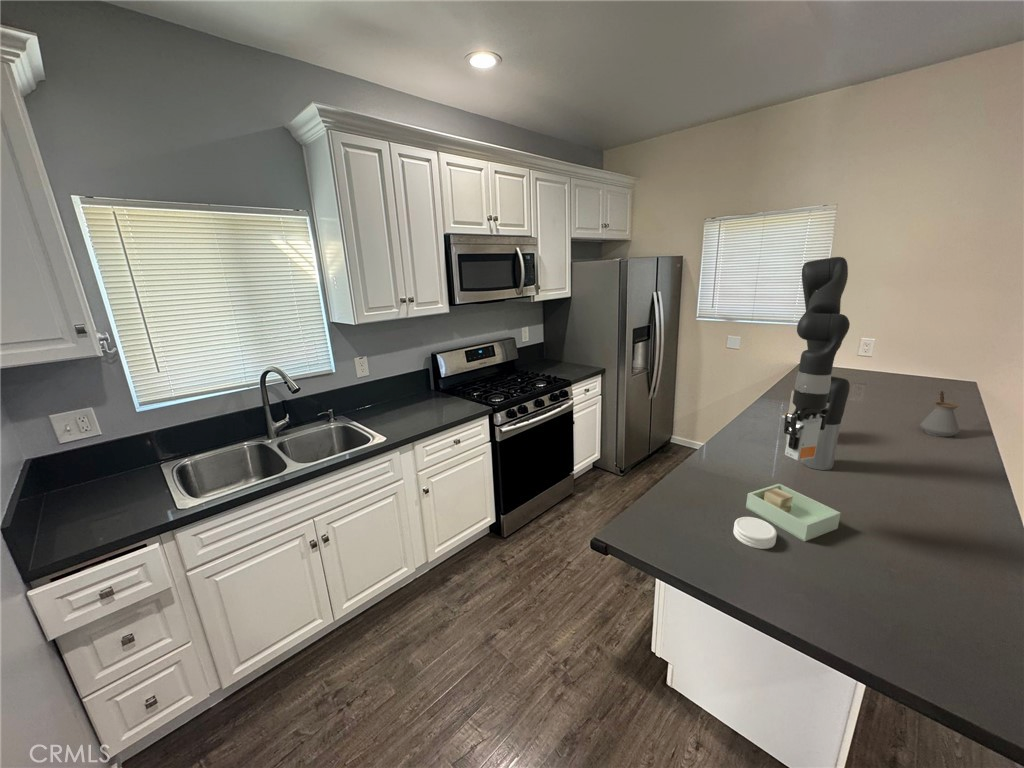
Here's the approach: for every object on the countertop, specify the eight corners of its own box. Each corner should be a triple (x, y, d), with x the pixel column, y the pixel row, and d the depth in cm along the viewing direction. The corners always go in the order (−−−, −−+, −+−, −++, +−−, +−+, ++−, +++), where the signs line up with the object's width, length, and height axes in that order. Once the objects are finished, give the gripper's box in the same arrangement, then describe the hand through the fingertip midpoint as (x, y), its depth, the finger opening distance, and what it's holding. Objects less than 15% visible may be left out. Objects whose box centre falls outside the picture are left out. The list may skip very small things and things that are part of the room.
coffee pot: (960, 441, 162) (969, 405, 158) (920, 434, 169) (928, 400, 165) (952, 425, 178) (961, 392, 174) (915, 420, 185) (923, 388, 181)
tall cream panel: (809, 437, 172) (819, 379, 165) (799, 445, 165) (809, 385, 158) (788, 432, 178) (796, 376, 171) (778, 439, 171) (786, 381, 164)
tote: (776, 497, 128) (779, 483, 127) (837, 528, 112) (840, 512, 111) (745, 507, 124) (747, 493, 122) (804, 541, 108) (807, 525, 106)
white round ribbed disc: (736, 522, 117) (738, 511, 116) (777, 534, 111) (779, 523, 110) (729, 540, 110) (730, 529, 109) (772, 555, 104) (774, 543, 103)
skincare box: (797, 461, 111) (804, 420, 108) (784, 454, 115) (790, 415, 112) (815, 458, 112) (823, 417, 109) (801, 452, 116) (808, 412, 113)
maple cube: (774, 502, 125) (776, 488, 123) (790, 511, 120) (792, 496, 119) (762, 506, 123) (764, 491, 122) (778, 515, 118) (780, 500, 117)
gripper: (815, 382, 114) (806, 438, 118) (778, 388, 109) (770, 445, 114) (845, 389, 107) (833, 447, 111) (806, 395, 102) (796, 456, 107)
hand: (801, 446), depth 112 cm, fingers closed on skincare box, 6 cm apart
